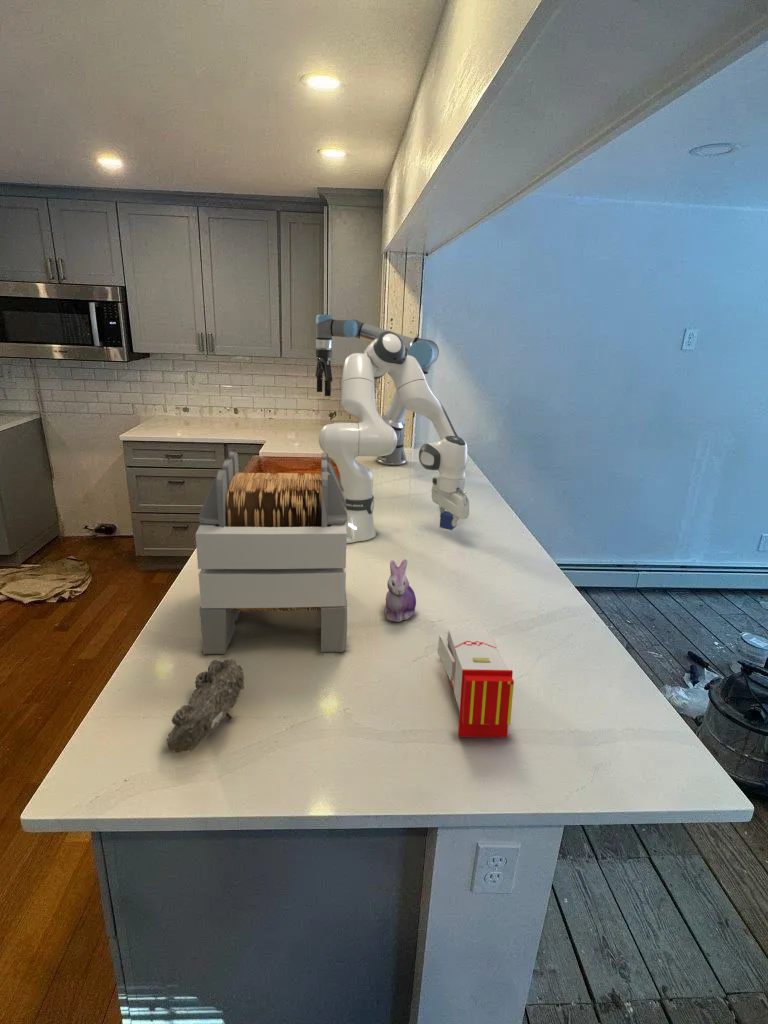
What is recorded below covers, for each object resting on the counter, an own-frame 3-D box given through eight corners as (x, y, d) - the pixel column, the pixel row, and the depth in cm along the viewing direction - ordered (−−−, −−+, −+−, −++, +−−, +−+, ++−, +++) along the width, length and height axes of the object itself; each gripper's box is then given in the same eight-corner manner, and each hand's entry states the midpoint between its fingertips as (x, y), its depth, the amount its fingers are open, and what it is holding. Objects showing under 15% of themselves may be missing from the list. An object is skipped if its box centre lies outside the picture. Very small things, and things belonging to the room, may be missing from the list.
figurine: (392, 627, 141) (395, 572, 136) (374, 608, 149) (376, 556, 144) (425, 619, 145) (429, 566, 140) (405, 601, 154) (408, 550, 149)
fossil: (192, 660, 117) (244, 628, 112) (224, 691, 120) (276, 661, 115) (142, 746, 98) (202, 712, 93) (182, 779, 101) (242, 748, 96)
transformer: (223, 585, 158) (215, 442, 144) (341, 584, 161) (344, 444, 148) (200, 656, 126) (186, 481, 112) (347, 652, 130) (351, 482, 116)
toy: (488, 613, 130) (523, 677, 101) (484, 667, 133) (517, 744, 104) (435, 612, 130) (455, 676, 101) (432, 666, 133) (451, 743, 103)
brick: (451, 530, 196) (452, 517, 195) (439, 527, 198) (440, 514, 197) (456, 526, 200) (457, 513, 198) (444, 523, 202) (445, 510, 200)
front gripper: (475, 492, 186) (471, 531, 191) (445, 475, 204) (442, 511, 208) (459, 494, 184) (455, 533, 188) (429, 476, 201) (426, 513, 206)
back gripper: (339, 351, 260) (338, 397, 267) (323, 346, 282) (323, 390, 289) (323, 350, 257) (323, 398, 265) (309, 346, 279) (309, 390, 286)
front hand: (448, 521), depth 199 cm, fingers closed on brick, 6 cm apart
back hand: (323, 394), depth 277 cm, fingers open, 13 cm apart
